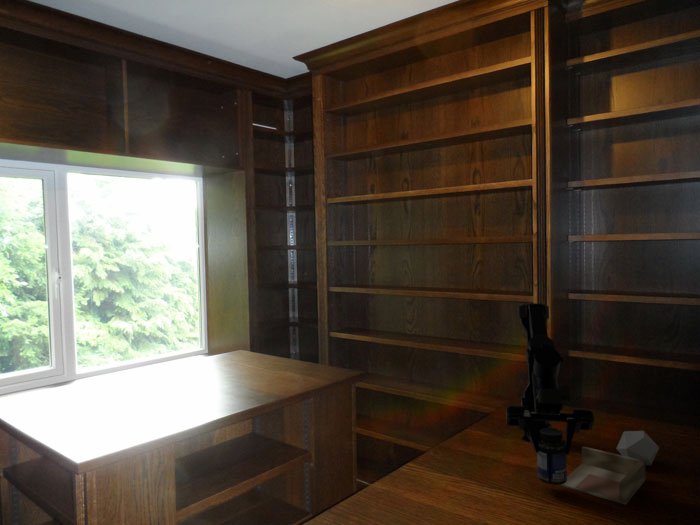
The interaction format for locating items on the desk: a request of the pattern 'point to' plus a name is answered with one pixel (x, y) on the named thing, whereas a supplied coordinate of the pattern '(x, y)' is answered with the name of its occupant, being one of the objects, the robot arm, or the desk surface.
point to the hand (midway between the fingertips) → (552, 453)
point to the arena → (607, 475)
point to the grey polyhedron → (637, 446)
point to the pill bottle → (551, 457)
